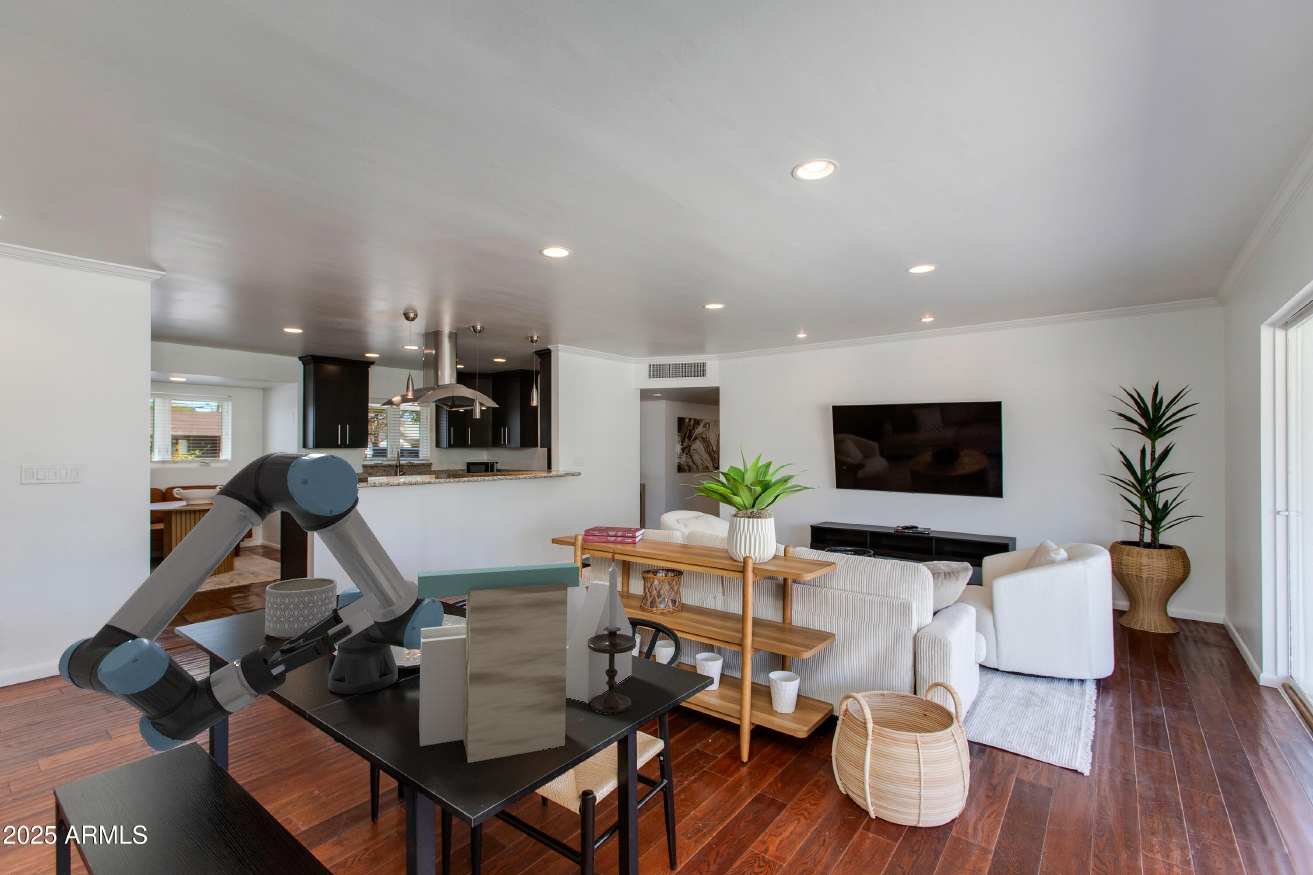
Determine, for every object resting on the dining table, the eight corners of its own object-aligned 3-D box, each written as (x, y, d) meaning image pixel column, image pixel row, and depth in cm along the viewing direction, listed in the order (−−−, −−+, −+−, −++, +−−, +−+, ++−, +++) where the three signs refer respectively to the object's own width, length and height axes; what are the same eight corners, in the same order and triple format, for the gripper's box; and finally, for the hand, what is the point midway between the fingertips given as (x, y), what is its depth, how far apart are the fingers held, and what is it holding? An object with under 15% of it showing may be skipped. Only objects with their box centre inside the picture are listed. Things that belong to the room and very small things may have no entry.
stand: (463, 740, 121) (466, 580, 121) (554, 725, 128) (557, 574, 128) (467, 762, 113) (471, 591, 113) (564, 745, 119) (567, 584, 120)
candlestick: (636, 715, 133) (638, 553, 133) (585, 716, 132) (588, 553, 132) (634, 695, 144) (636, 544, 144) (587, 695, 143) (589, 544, 143)
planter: (284, 646, 174) (285, 594, 174) (252, 633, 184) (253, 585, 184) (348, 629, 190) (349, 582, 190) (315, 619, 200) (316, 575, 200)
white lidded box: (419, 725, 127) (420, 628, 127) (508, 712, 134) (509, 620, 134) (420, 746, 118) (421, 641, 119) (515, 731, 125) (516, 632, 125)
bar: (417, 593, 116) (417, 572, 116) (574, 582, 127) (574, 562, 127) (417, 598, 112) (418, 576, 112) (579, 586, 123) (579, 566, 123)
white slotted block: (581, 664, 163) (583, 570, 164) (631, 675, 156) (633, 576, 156) (534, 689, 146) (536, 584, 147) (587, 703, 139) (589, 592, 139)
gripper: (278, 670, 117) (386, 607, 124) (244, 725, 93) (379, 644, 100) (257, 637, 116) (367, 575, 122) (216, 685, 92) (355, 605, 99)
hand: (373, 606), depth 111 cm, fingers open, 13 cm apart
